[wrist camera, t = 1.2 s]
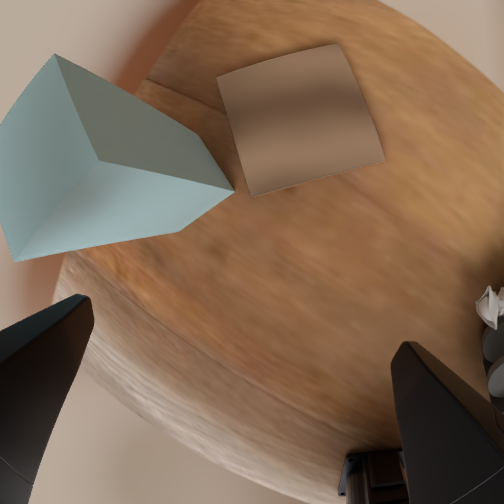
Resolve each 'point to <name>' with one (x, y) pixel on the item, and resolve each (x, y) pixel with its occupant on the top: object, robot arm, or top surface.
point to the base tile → (299, 119)
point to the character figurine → (495, 363)
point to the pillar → (96, 166)
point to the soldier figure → (491, 306)
